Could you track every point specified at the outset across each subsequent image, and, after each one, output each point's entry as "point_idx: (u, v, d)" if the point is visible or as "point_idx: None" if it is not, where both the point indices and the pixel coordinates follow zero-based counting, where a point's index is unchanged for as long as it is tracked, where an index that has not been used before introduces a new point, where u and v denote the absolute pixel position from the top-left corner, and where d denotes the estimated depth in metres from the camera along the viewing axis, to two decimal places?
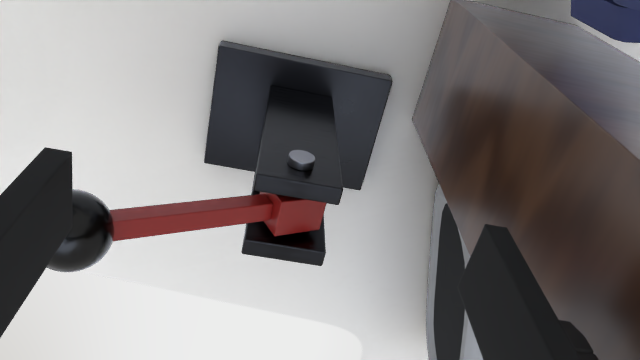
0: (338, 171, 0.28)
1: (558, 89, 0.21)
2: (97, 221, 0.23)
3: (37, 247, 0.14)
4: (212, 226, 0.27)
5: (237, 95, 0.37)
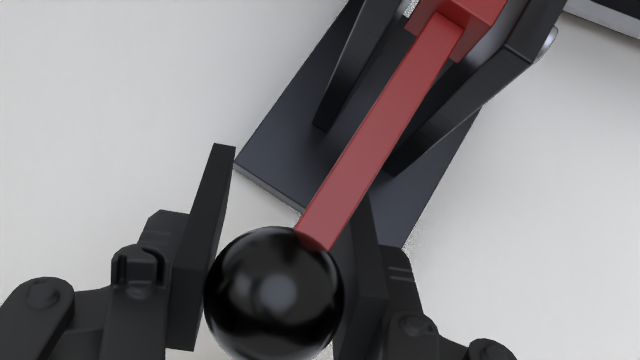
0: None
1: None
2: (261, 238, 0.13)
3: (220, 227, 0.17)
4: (413, 109, 0.15)
5: (308, 169, 0.26)
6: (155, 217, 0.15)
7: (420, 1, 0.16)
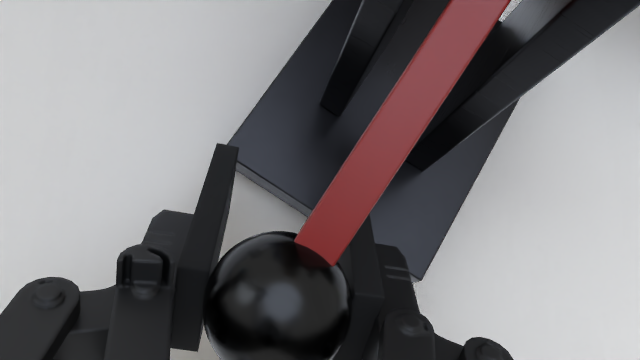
0: None
1: None
2: (253, 260, 0.12)
3: (223, 228, 0.17)
4: (446, 90, 0.12)
5: (315, 161, 0.21)
6: (159, 217, 0.15)
7: None
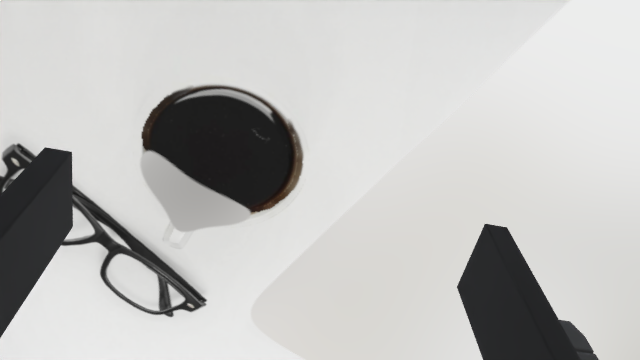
0: None
1: None
2: None
3: (37, 247, 0.14)
4: None
5: None
6: None
7: None
